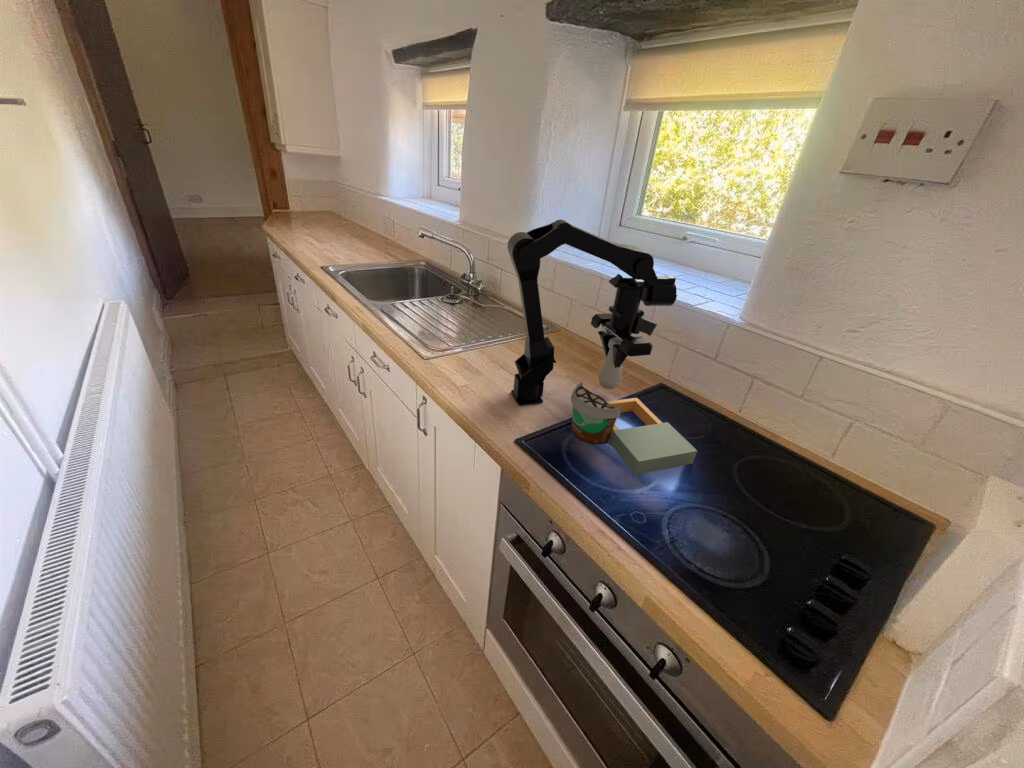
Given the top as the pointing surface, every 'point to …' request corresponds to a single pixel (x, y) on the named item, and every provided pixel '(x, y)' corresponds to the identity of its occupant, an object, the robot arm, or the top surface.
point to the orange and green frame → (649, 441)
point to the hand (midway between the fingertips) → (612, 364)
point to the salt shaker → (610, 369)
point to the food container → (592, 416)
